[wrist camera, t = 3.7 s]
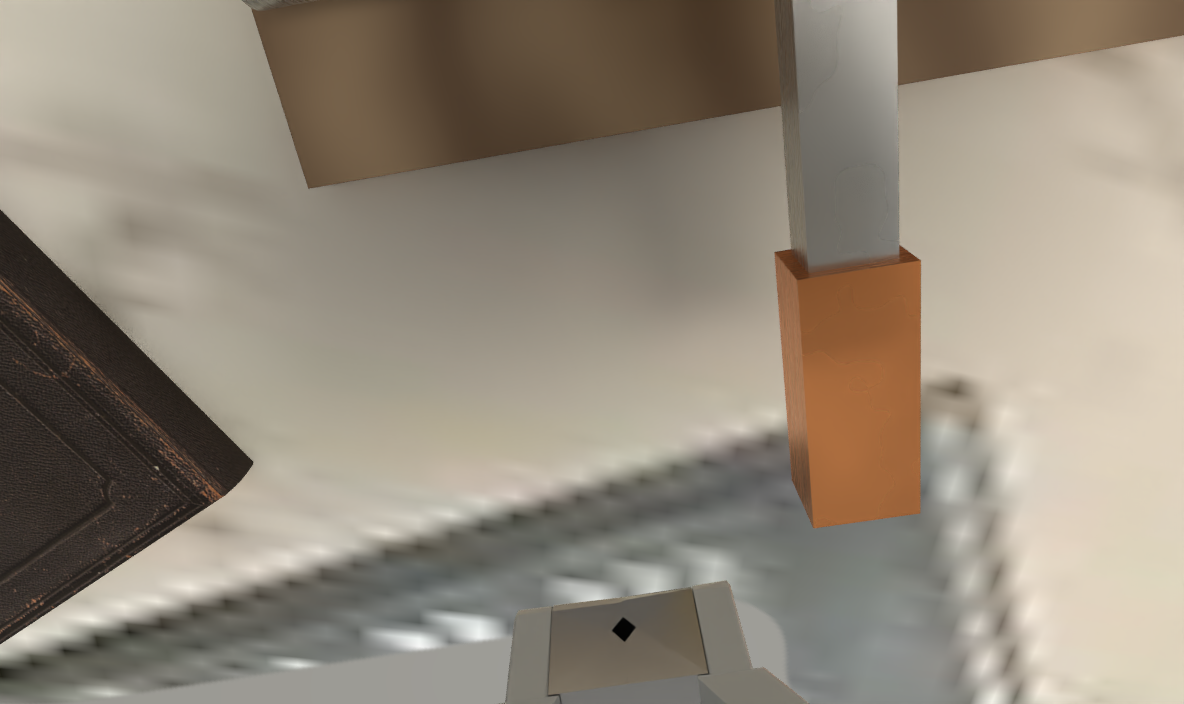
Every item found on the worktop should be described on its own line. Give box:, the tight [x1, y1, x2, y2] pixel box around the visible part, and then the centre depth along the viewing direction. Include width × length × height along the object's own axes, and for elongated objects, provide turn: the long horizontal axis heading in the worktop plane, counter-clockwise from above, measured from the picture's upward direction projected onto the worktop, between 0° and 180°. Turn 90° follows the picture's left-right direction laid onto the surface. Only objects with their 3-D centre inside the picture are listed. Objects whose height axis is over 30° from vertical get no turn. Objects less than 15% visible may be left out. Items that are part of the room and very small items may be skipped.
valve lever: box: [774, 0, 921, 528], centre depth 15 cm, size 17×3×2 cm, turn 10°
